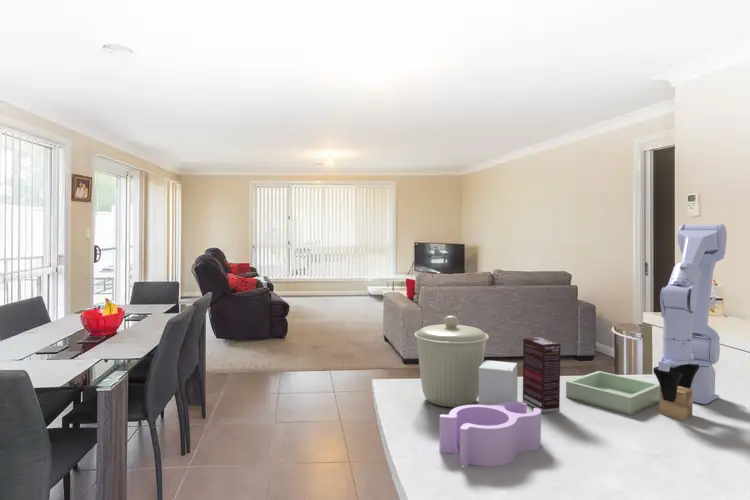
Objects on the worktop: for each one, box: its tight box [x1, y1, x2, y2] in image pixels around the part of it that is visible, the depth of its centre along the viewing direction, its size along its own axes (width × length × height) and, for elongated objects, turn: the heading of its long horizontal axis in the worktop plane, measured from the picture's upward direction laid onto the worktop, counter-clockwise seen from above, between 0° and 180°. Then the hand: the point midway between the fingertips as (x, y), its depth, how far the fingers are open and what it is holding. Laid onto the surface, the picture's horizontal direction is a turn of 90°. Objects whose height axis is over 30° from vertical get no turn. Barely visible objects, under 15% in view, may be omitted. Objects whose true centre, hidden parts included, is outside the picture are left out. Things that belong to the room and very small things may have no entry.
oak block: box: [659, 386, 693, 421], centre depth 115 cm, size 5×5×6 cm
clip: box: [438, 401, 542, 468], centre depth 96 cm, size 20×12×7 cm, turn 117°
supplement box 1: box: [478, 359, 518, 405], centre depth 110 cm, size 7×7×13 cm
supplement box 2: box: [522, 336, 561, 414], centre depth 120 cm, size 9×5×16 cm, turn 17°
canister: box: [413, 315, 490, 408], centre depth 123 cm, size 18×18×21 cm
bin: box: [565, 370, 660, 416], centre depth 125 cm, size 16×16×4 cm
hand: (676, 397), depth 115 cm, fingers open, 7 cm apart
